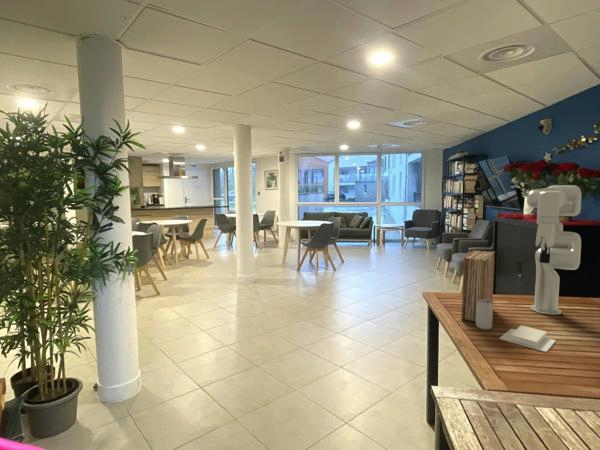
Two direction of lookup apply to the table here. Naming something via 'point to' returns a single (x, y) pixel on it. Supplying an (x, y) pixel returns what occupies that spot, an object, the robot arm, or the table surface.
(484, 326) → the beverage can
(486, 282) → the book
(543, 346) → the mat
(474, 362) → the table surface
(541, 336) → the glazed tile
